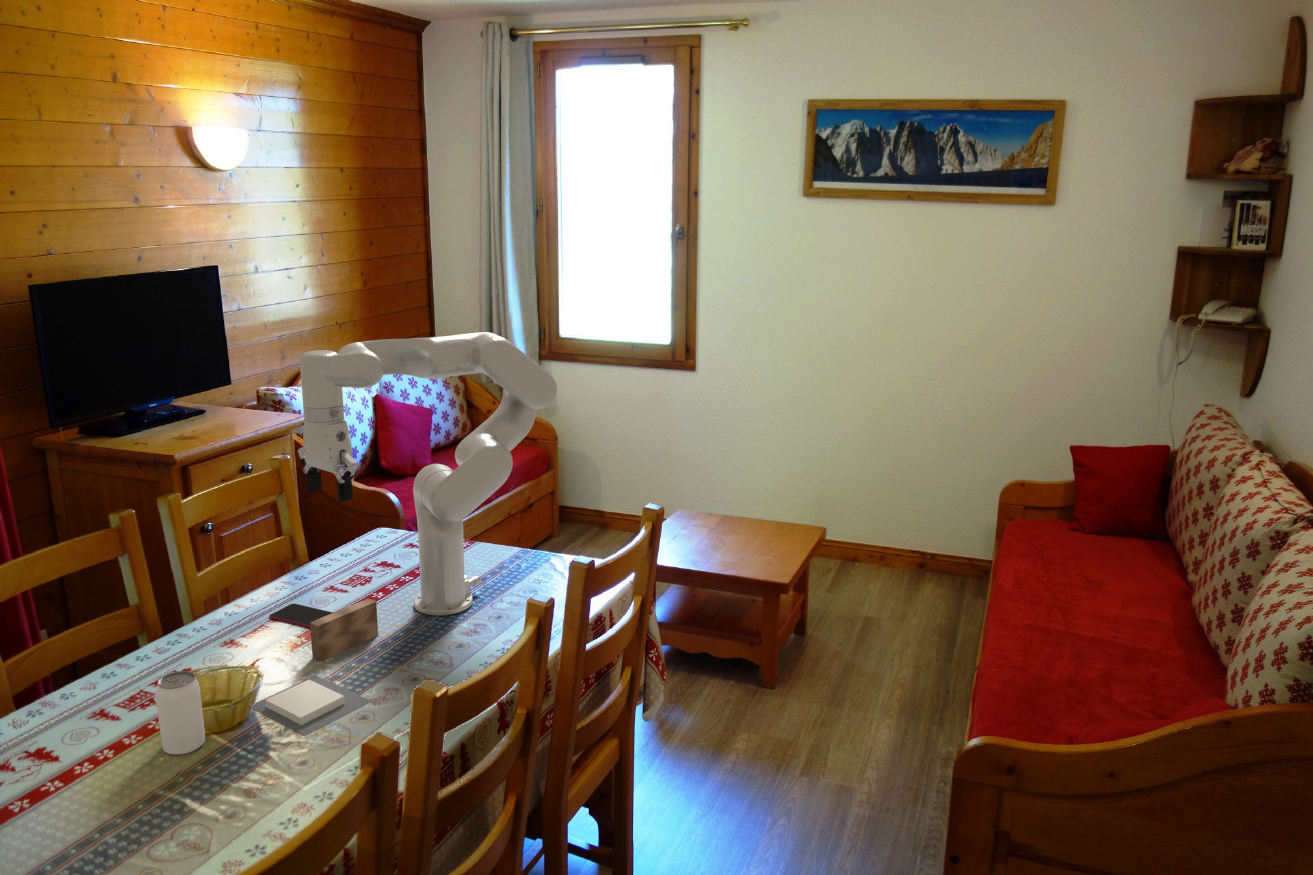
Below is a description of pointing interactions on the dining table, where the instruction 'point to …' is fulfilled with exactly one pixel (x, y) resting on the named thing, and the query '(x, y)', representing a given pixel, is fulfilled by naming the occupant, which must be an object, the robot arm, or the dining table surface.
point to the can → (180, 713)
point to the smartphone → (299, 614)
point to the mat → (350, 705)
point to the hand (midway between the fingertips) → (329, 495)
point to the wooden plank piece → (343, 629)
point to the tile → (305, 702)
